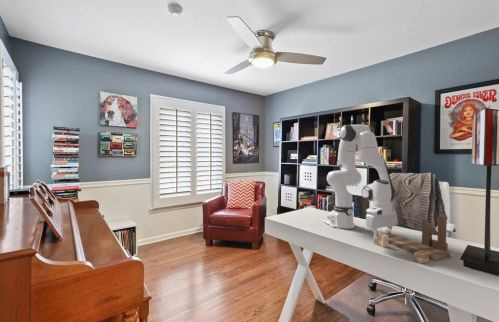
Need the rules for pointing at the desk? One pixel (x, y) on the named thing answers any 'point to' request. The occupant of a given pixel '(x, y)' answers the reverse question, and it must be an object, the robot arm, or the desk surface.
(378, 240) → the gauge block
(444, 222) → the brown wooden upright frame
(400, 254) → the desk surface
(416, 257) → the stop block
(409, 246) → the board
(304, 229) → the desk surface
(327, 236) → the desk surface
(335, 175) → the robot arm
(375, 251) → the desk surface
